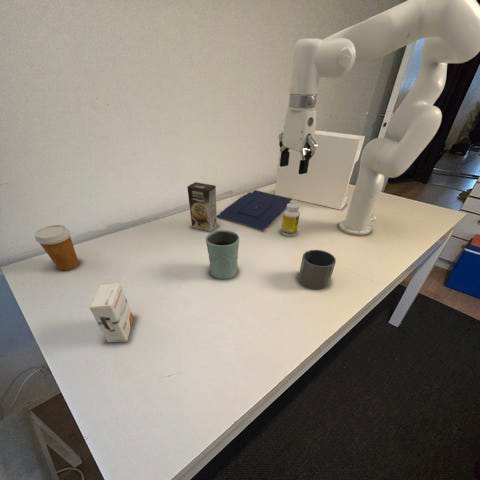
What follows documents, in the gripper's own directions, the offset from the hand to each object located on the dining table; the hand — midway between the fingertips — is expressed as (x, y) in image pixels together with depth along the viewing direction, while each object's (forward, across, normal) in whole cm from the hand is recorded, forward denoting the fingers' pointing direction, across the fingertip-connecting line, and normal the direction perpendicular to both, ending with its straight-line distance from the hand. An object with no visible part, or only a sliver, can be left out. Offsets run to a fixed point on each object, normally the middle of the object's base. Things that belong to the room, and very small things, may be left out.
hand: (292, 169), depth 86 cm
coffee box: (+24, +24, +23) cm, 41 cm away
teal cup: (+24, -9, +32) cm, 41 cm away
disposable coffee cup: (+24, +20, +75) cm, 81 cm away
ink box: (+24, -19, +67) cm, 74 cm away
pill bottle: (+24, +3, -5) cm, 25 cm away
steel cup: (+24, -27, +9) cm, 37 cm away
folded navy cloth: (+24, +26, -4) cm, 36 cm away
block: (+25, +27, -37) cm, 52 cm away
